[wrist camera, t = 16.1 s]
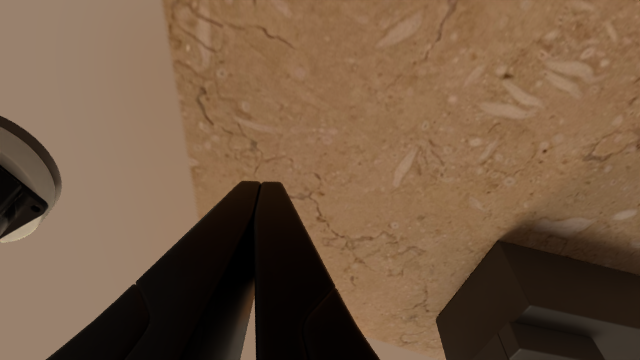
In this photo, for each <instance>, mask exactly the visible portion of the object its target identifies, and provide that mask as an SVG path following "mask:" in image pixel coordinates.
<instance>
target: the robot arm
mask: <svg viewBox="0 0 640 360" xmlns="http://www.w3.org/2000/svg"><path fill="white" fill-rule="evenodd" d="M37 206H38V207H37ZM48 207H49V206H48V203H47V202H46V201H45V200H44V199H42V198H41V197H40V196H39V195H37V194H36V193H35V192H34V191H32V190H31V189H30V188H29V187H27V186H26V185H25V184H24V183H22V182H21V181H20V180H19V179H17V178H16V177H15V176H14V175H12V174H11V173H10V172H9V171H7V170H6V169H5V168H4V167H2V166H1V165H0V239H1V238H3V237H5V236H6V235H8V234H10V233H12V232H13V231H15V230H17V229H19V228H20V227H22V226H24V225H26V224H27V223H29V222H31V221H33V220H34V219H36V218H38V217H40V216H41V215H43V214H44V213H45V212H46V210H47V209H48ZM254 295H255V333H256V360H380V359H379V357H378V356H377V355H376V353H375V352H374V350H373V349H372V348H371V346H370V344H369V343H368V341H367V340H366V338H365V337H364V335H363V334H362V332H361V331H360V329H359V328H358V326H357V325H356V323H355V321H354V319H353V317H352V316H351V314H350V312H349V310H348V309H347V307H346V305H345V303H344V301H343V300H342V298H341V296H340V294H339V292H338V290H337V289H336V288H335V285H334V283H333V281H332V279H331V277H330V275H329V273H328V271H327V269H326V267H325V265H324V263H323V261H322V259H321V258H320V256H319V254H318V252H317V250H316V248H315V246H314V244H313V242H312V240H311V238H310V236H309V234H308V232H307V231H306V229H305V227H304V225H303V223H302V221H301V219H300V217H299V215H298V213H297V211H296V209H295V207H294V205H293V203H292V202H291V200H290V198H289V196H288V194H287V192H286V190H285V188H284V186H283V184H282V183H281V182H263V183H262V184H261V183H260V182H259V181H241V182H240V183H239V184H237V185H236V186H235V187H234V188H233V189H232V190H231V191H230V192H229V193H228V194H227V195H226V196H225V197H224V198H223V199H222V200H221V201H220V202H219V203H218V204H217V205H216V206H214V207H213V208H212V209H211V210H210V211H209V212H208V213H207V214H206V215H205V216H204V217H203V218H202V219H201V220H200V221H199V222H198V223H197V224H196V225H195V226H194V227H193V228H191V230H189V232H187V233H186V234H185V235H184V236H183V237H182V238H181V239H180V240H179V241H178V242H177V243H176V244H175V245H174V246H173V247H172V248H171V249H170V250H168V251H167V252H166V253H165V254H164V255H163V256H162V257H161V258H160V259H159V260H158V261H157V262H156V263H155V264H154V265H153V266H152V267H151V268H150V269H149V270H148V271H146V272H145V273H144V274H143V276H141V277H140V278H139V279H138V280H137V281H136V285H135V284H133V285H132V286H131V287H130V288H128V289H127V290H126V291H125V292H124V293H123V294H122V295H121V296H120V297H119V298H118V299H117V300H116V301H115V302H114V303H112V304H111V305H110V306H109V307H108V308H107V309H106V310H105V311H104V312H103V313H102V314H101V315H100V316H98V317H97V318H96V319H95V320H94V321H93V322H91V323H90V324H89V325H88V326H86V327H85V328H84V329H83V330H82V331H81V332H79V333H78V334H77V335H76V336H75V337H73V338H72V339H71V340H70V341H68V342H67V343H66V344H65V345H64V346H63V347H61V348H60V349H59V350H57V351H56V352H55V353H54V354H52V355H51V356H50V357H49V358H47V359H46V360H240V358H241V353H242V349H243V344H244V340H245V335H246V331H247V326H248V322H249V318H250V313H251V308H252V304H253V300H254Z"/></svg>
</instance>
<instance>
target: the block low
mask: <svg viewBox="0 0 640 360" xmlns="http://www.w3.org/2000/svg"><path fill="white" fill-rule="evenodd" d="M436 323H437V327H438V331H439V334H440V338H441V342H442V345H443V349H444V353H445V356H446V360H640V276H639V275H635V274H631V273H627V272H623V271H619V270H615V269H610V268H606V267H602V266H598V265H594V264H590V263H586V262H582V261H578V260H574V259H570V258H566V257H562V256H558V255H554V254H550V253H546V252H542V251H538V250H534V249H530V248H526V247H522V246H518V245H514V244H510V243H506V242H502V241H497V243H496V244H495V245H494V247H493V248H492V249H491V250H490V252H489V253H488V254H487V255H486V257H485V258H484V259H483V260H482V262H481V263H480V264H479V266H478V267H477V268H476V269H475V271H474V272H473V273H472V274H471V276H470V277H469V278H468V280H467V281H466V282H465V283H464V285H463V286H462V287H461V288H460V290H459V291H458V292H457V293H456V295H455V296H454V297H453V299H452V300H451V301H450V302H449V304H448V305H447V306H446V307H445V309H444V310H443V311H442V312H441V314H440V315H439V316H438V318H437V319H436Z"/></svg>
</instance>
